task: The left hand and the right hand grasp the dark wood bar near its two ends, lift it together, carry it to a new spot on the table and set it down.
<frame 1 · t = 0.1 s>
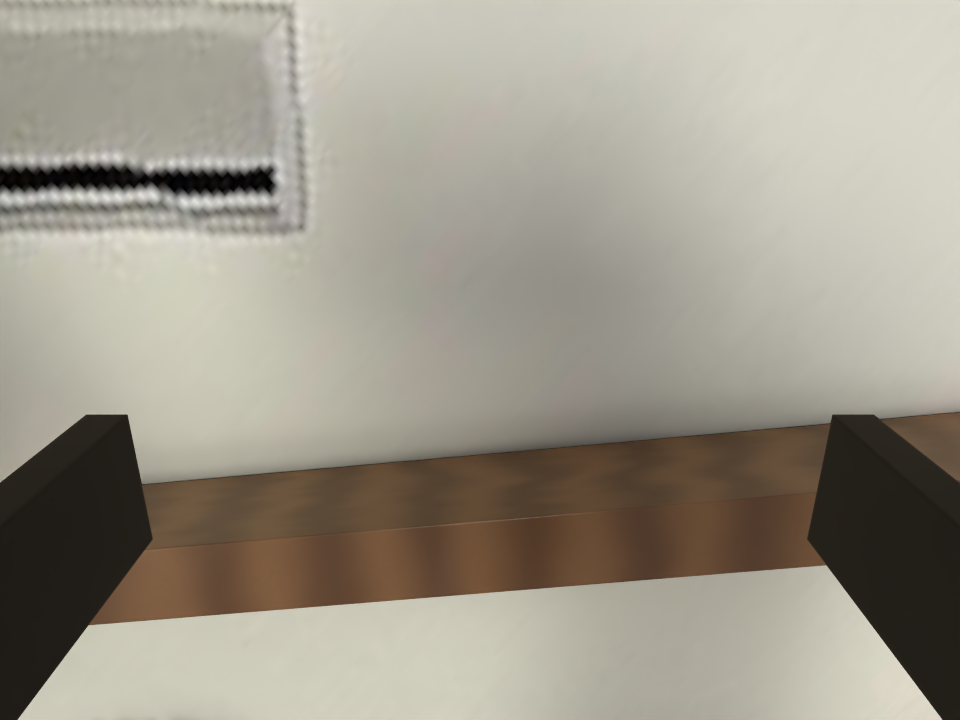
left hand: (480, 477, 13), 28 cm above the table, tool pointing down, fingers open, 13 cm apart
bar: (527, 482, 45), on the table
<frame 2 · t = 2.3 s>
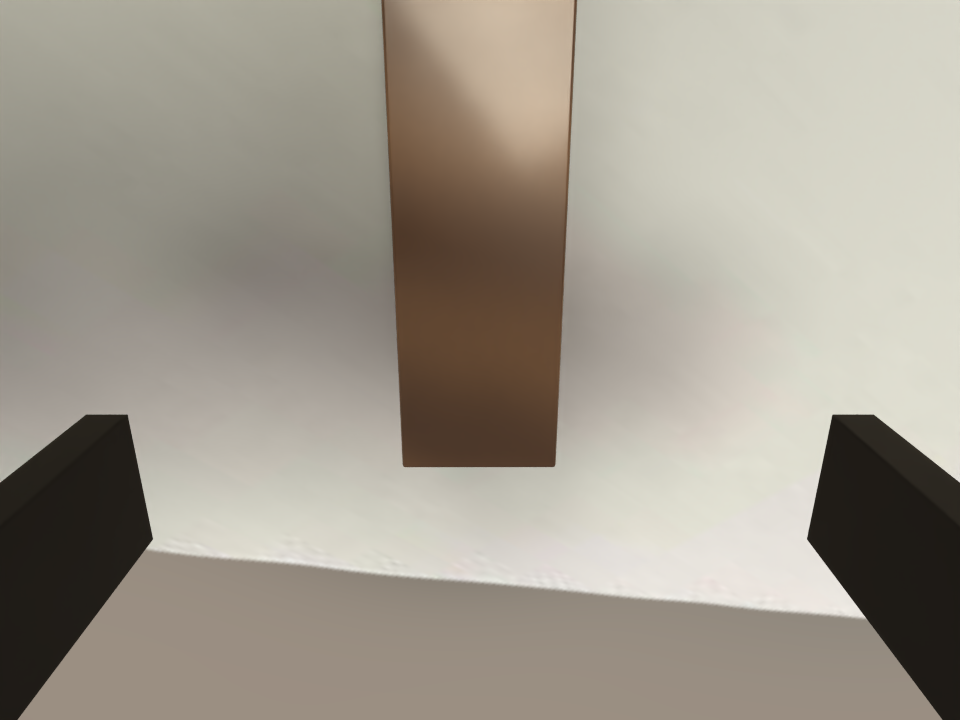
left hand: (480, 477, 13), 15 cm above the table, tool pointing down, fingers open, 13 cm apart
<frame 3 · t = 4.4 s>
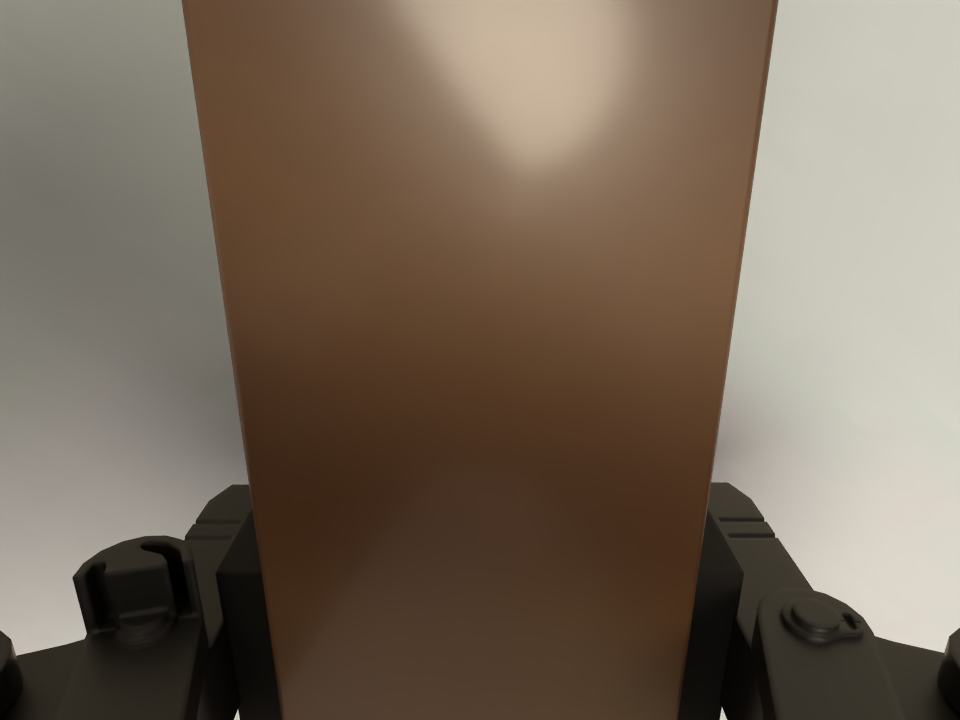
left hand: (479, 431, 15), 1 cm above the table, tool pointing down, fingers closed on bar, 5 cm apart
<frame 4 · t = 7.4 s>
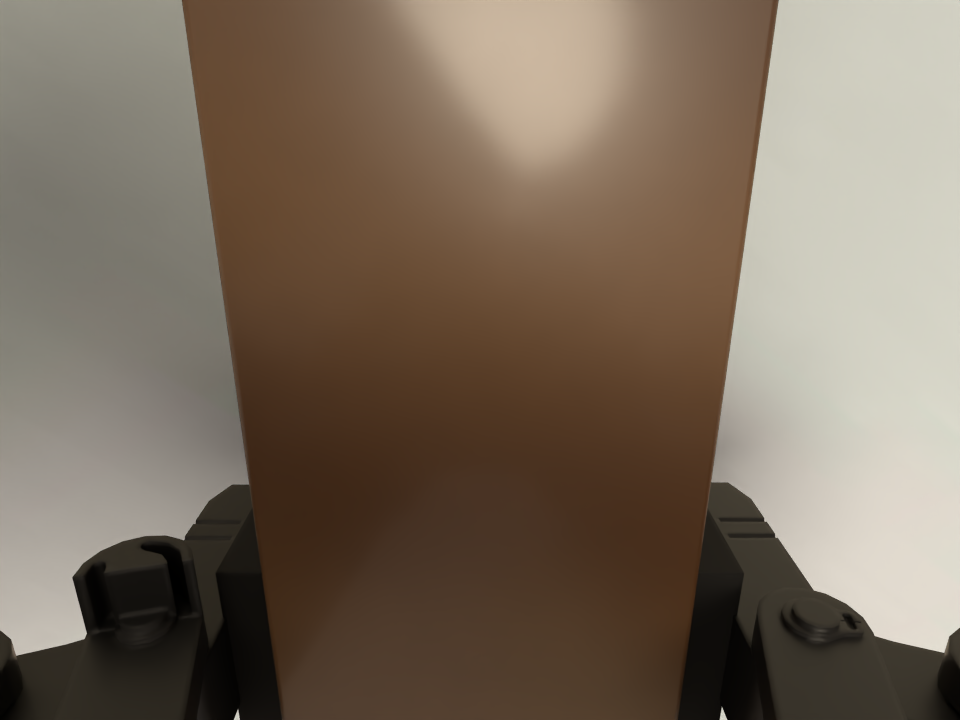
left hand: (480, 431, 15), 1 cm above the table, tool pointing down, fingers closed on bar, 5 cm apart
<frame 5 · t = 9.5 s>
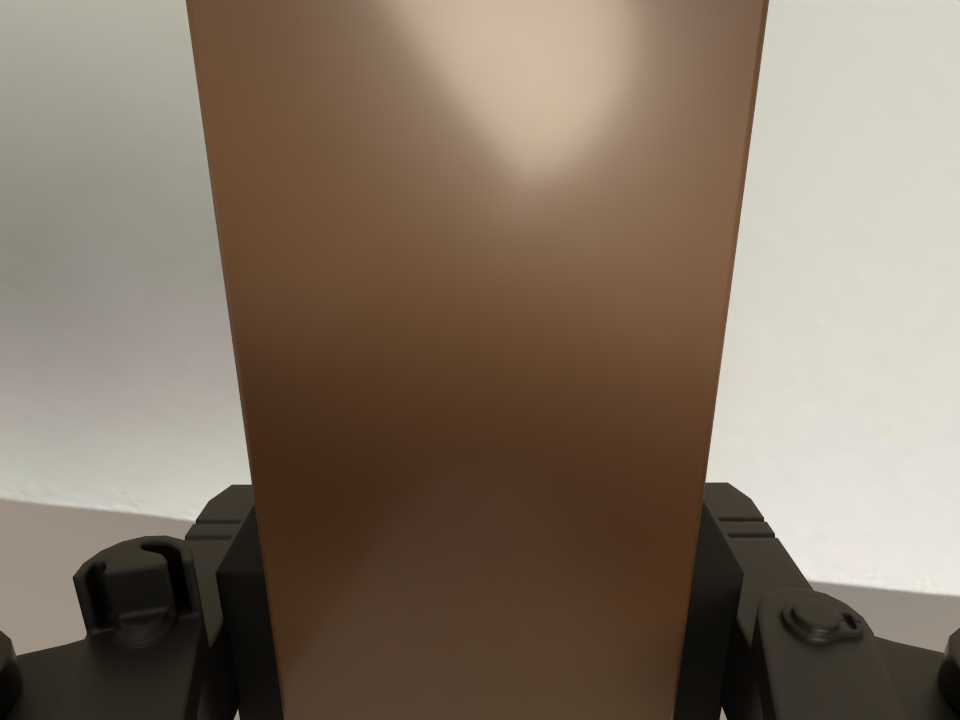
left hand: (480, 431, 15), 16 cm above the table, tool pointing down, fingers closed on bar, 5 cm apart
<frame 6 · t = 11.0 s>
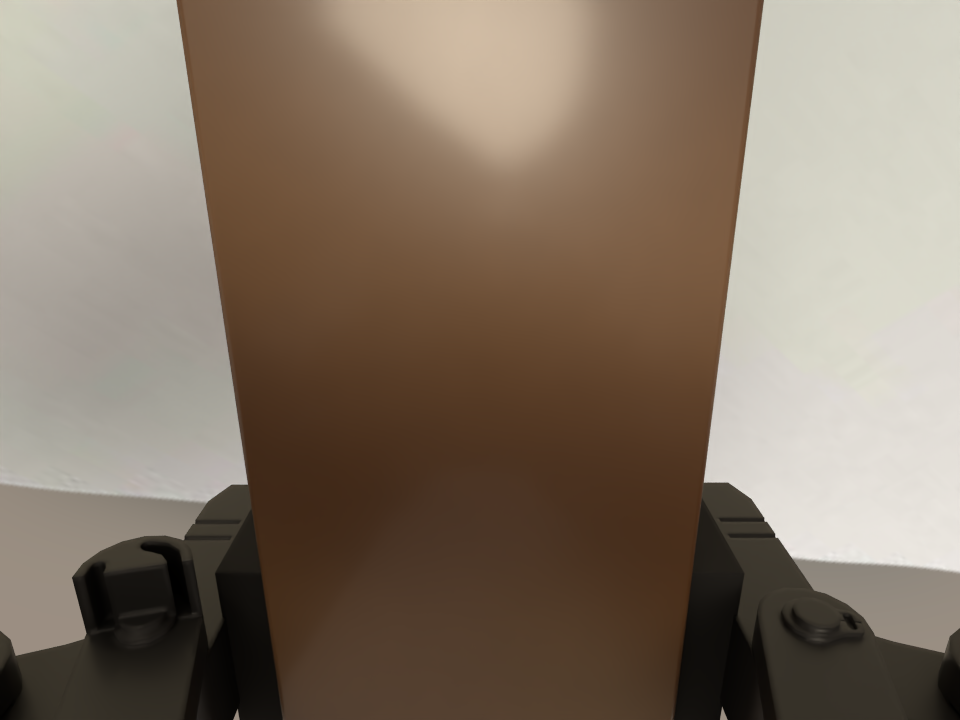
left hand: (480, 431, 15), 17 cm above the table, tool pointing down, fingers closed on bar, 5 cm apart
when the left hand's fingers open (2 cm above the table, at t = 14.9 s): bar drops 2 cm, on the table.
when the right hand's fingers open (2 cm above the table, at t = 14.9 s): bar drops 2 cm, on the table.
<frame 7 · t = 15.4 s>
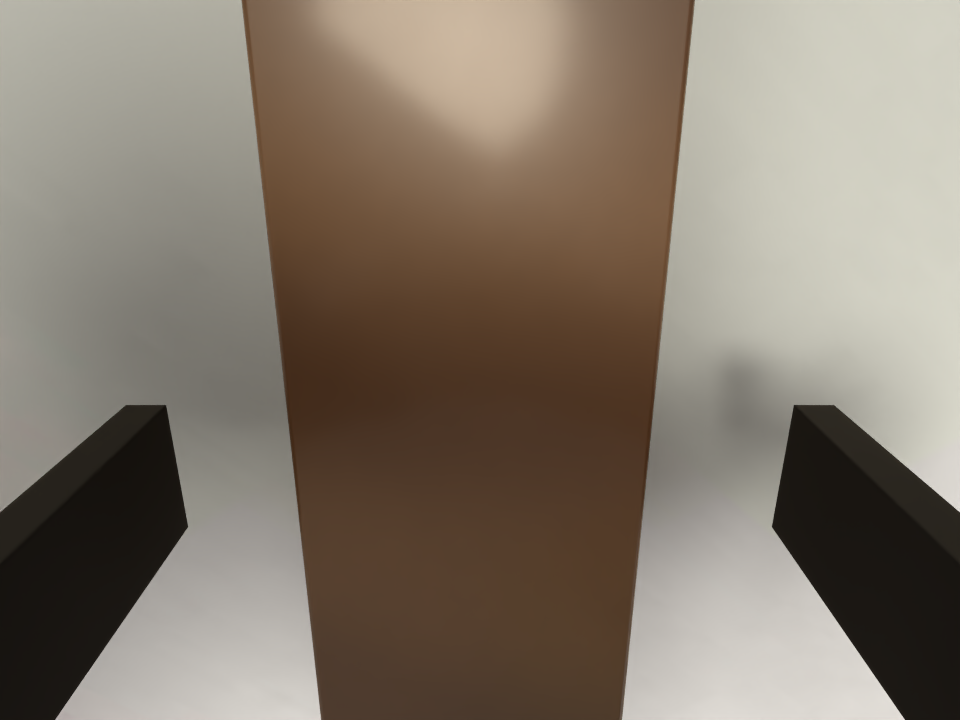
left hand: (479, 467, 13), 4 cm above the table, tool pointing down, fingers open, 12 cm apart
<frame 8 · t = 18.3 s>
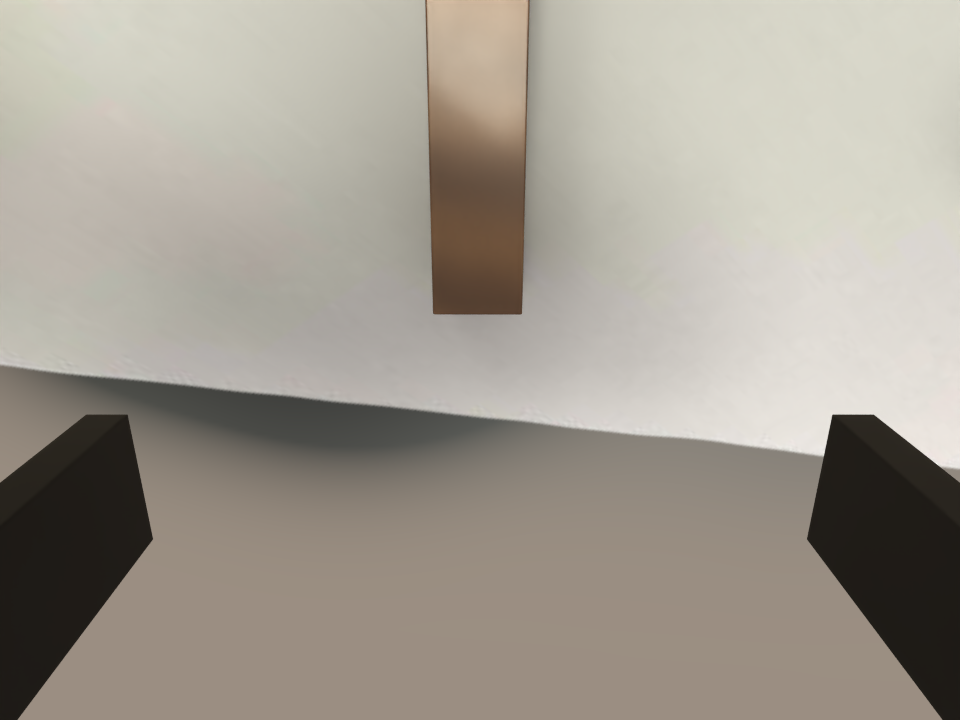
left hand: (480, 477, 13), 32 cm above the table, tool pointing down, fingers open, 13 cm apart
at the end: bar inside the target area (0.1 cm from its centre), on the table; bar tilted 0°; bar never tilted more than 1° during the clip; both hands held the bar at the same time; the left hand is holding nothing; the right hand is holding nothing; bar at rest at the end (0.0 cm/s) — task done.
